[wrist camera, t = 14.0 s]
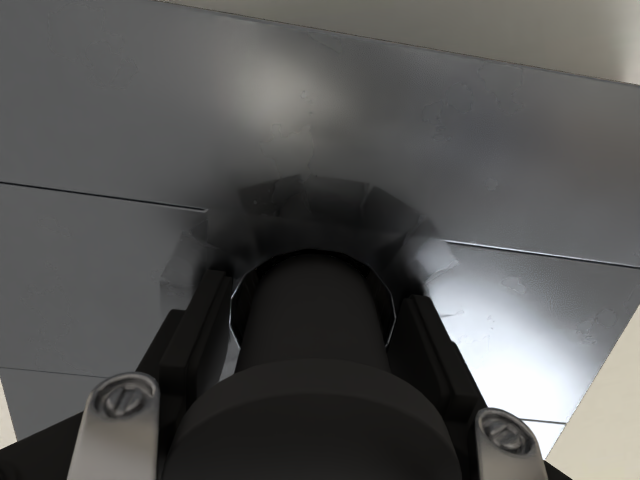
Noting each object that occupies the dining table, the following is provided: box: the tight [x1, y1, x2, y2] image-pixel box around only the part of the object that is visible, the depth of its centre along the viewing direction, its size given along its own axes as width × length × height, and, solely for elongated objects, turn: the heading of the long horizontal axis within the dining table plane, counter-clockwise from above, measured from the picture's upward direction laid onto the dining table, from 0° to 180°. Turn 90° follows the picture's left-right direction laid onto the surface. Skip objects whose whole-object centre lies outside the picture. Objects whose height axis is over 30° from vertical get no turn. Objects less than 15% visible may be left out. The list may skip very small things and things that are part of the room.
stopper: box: [161, 254, 462, 480], centre depth 10 cm, size 6×6×6 cm
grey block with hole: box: [0, 0, 640, 460], centre depth 14 cm, size 16×20×4 cm
